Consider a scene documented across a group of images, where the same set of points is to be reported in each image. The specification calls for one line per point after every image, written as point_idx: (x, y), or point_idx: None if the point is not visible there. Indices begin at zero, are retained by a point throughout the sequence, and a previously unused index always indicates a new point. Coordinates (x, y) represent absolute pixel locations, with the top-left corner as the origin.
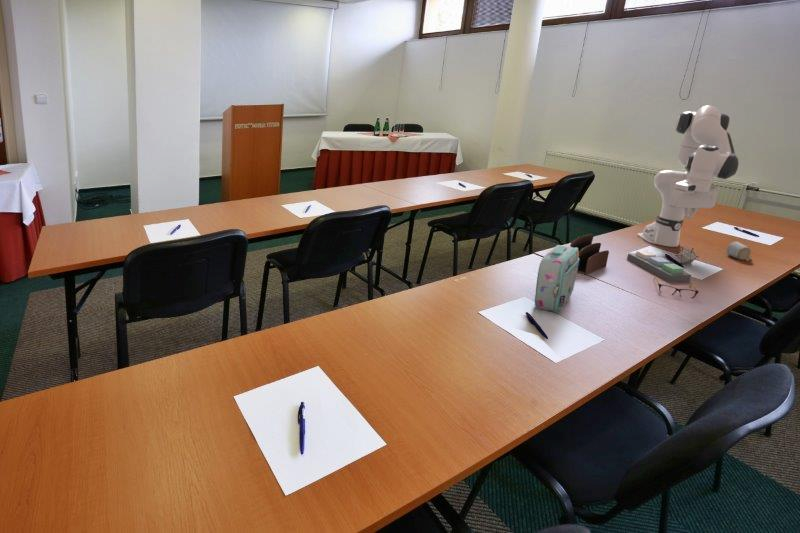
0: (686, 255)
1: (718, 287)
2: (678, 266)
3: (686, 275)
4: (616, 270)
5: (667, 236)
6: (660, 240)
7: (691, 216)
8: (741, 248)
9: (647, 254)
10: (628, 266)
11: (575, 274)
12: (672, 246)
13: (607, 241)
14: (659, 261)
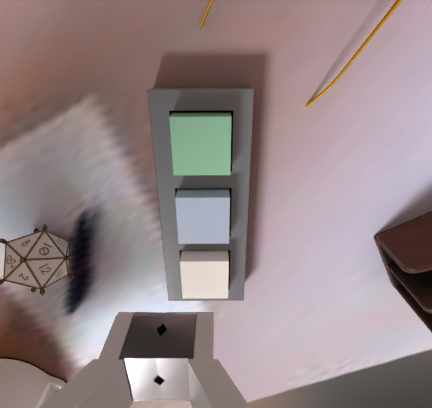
0: (49, 251)
1: (63, 7)
2: (178, 143)
3: (173, 89)
4: (368, 202)
5: (8, 396)
6: (34, 385)
7: (138, 329)
8: None
9: (213, 267)
10: (290, 231)
11: None
12: (6, 359)
13: None
14: (222, 200)
